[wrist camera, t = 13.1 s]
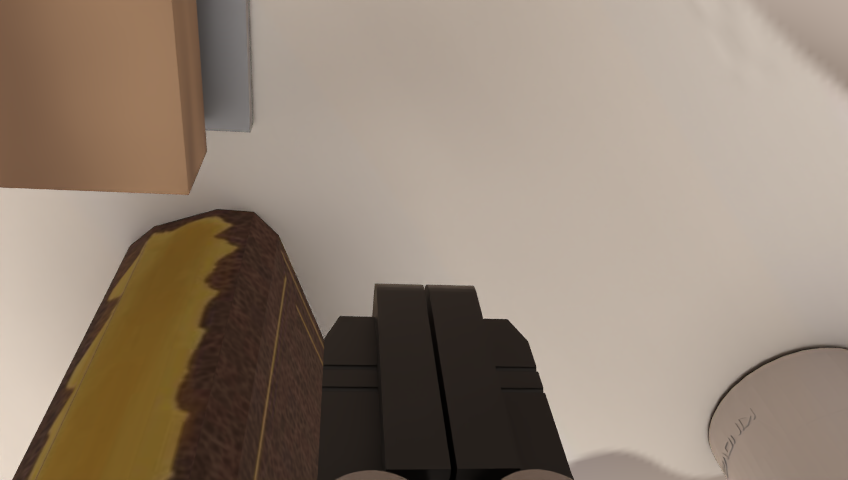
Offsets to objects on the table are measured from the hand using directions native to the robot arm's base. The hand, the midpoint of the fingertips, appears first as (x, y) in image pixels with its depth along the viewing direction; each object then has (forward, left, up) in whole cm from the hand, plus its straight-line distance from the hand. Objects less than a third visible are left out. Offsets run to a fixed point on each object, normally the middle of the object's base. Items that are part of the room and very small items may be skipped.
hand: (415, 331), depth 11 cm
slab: (+9, 0, -15) cm, 18 cm away
